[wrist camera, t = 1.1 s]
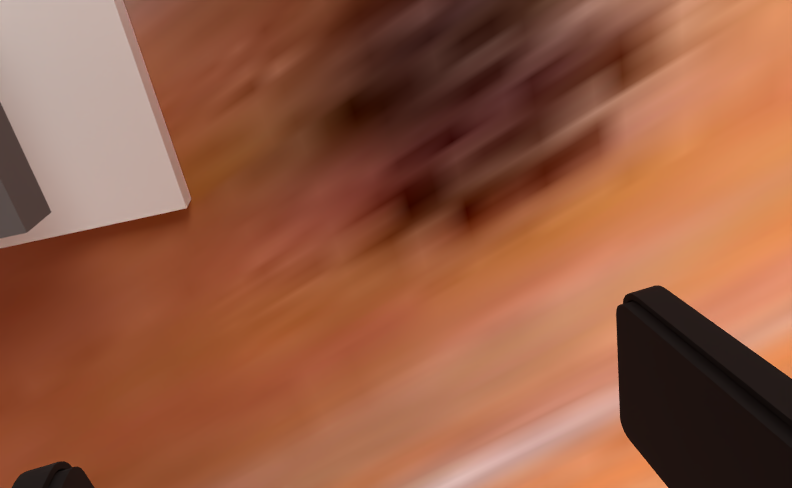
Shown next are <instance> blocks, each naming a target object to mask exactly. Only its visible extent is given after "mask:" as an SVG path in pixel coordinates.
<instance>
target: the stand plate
mask: <svg viewBox="0 0 792 488" xmlns="http://www.w3.org/2000/svg"><path fill="white" fill-rule="evenodd" d="M0 102H1V105H2V107H3V109H4V111H5V113H6V115H7V118H8V120H9V122H10V124H11V126H12V128H13V130H14V133H15V135H16V137H17V139H18V141H19V143H20V145H21V148H22V150H23V152H24V154H25V156H26V158H27V161H28V163H29V165H30V167H31V169H32V171H33V173H34V176H35V178H36V180H37V182H38V184H39V186H40V188H41V191H42V193H43V195H44V197H45V199H46V201H47V204H48V206H49V208H50V210H51V213H50V214H49V215H48V216H46V217H45V218H44V219H43V220H42V221H41V222H39V223H38V224H37V225H36V226H35V227H33V228H32V229H31V230H30V231H29V232H27V233H24V234H19V235H14V236H10V237H5V238H0V248H5V247H10V246H14V245H19V244H23V243H28V242H33V241H37V240H42V239H47V238H51V237H56V236H61V235H65V234H70V233H75V232H79V231H84V230H88V229H93V228H98V227H102V226H107V225H112V224H116V223H121V222H126V221H130V220H135V219H140V218H144V217H149V216H154V215H158V214H163V213H167V212H172V211H177V210H181V209H186V208H187V207H188V205H189V203H190V201H191V196H190V193H189V190H188V187H187V185H186V182H185V179H184V176H183V173H182V170H181V167H180V164H179V161H178V158H177V155H176V152H175V150H174V147H173V144H172V141H171V138H170V135H169V132H168V129H167V126H166V123H165V120H164V118H163V115H162V112H161V109H160V106H159V103H158V100H157V97H156V94H155V91H154V88H153V86H152V83H151V80H150V77H149V74H148V71H147V68H146V65H145V62H144V59H143V56H142V54H141V51H140V48H139V45H138V42H137V39H136V36H135V33H134V30H133V27H132V24H131V22H130V19H129V16H128V13H127V10H126V7H125V4H124V1H123V0H0Z"/></svg>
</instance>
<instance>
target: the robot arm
mask: <svg viewBox="0 0 792 488" xmlns="http://www.w3.org/2000/svg"><path fill="white" fill-rule="evenodd" d="M616 319H617V346H618V373H619V400H620V420H621V424H622V427H623V429H624V432H625V434H626V435H627V437H628V438H629V440H630V441H631V442H632V444H633V445H634V446H635V447H636V448H637V450H638V451H639V452H640V453H641V455H642V456H643V457H644V458H645V459H646V461H647V462H648V463H649V464H650V466H651V467H652V468H653V469H654V471H655V472H656V473H657V474H658V475H659V477H660V478H661V479H662V480H663V482H664V483H665V484H666V485H667V487H668V488H792V379H791V378H790V377H788V376H787V375H786V374H784V373H783V372H781V371H780V370H779V369H777V368H776V367H774V366H773V365H772V364H770V363H769V362H767V361H766V360H765V359H763V358H762V357H760V356H759V355H758V354H756V353H755V352H753V351H752V350H751V349H749V348H748V347H746V346H745V345H744V344H742V343H741V342H739V341H738V340H737V339H735V338H734V337H732V336H731V335H730V334H728V333H727V332H725V331H724V330H723V329H721V328H720V327H718V326H717V325H716V324H714V323H713V322H711V321H710V320H709V319H707V318H706V317H704V316H703V315H702V314H700V313H699V312H697V311H696V310H695V309H693V308H692V307H690V306H689V305H688V304H686V303H685V302H683V301H682V300H681V299H679V298H678V297H677V296H675V295H674V294H672V293H671V292H670V291H668V290H667V289H665V288H664V287H662V286H653V287H649V288H646V289H642V290H639V291H636V292H632V293H629V294H627V295H625V297H624V299H623V304H621V305H619V306H618V307H617V311H616ZM12 488H94V486H93V485H92V483H91V482H90V480H89V479H88V477H87V475H86V474H85V472H84V471H83V470H82V469H81V468H79V467H71V465H70V464H68V463H66V462H57V463H53V464H50V465H47V466H43V467H40V468H37V469H33V470H30V471H26V472H24V473H23V474H21V475H20V476H19V477H18V478H17V480H16V481H15V483H14V485H13V486H12Z"/></svg>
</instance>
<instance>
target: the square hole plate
mask: <svg viewBox="0 0 792 488" xmlns="http://www.w3.org/2000/svg"><path fill="white" fill-rule="evenodd" d="M50 213H51V210H50V208H49V206H48V204H47V201H46V199H45V197H44V195H43V193H42V191H41V188H40V186H39V184H38V182H37V180H36V178H35V176H34V173H33V171H32V169H31V167H30V165H29V163H28V161H27V158H26V156H25V154H24V152H23V150H22V148H21V145H20V143H19V141H18V139H17V137H16V135H15V133H14V130H13V128H12V126H11V124H10V122H9V120H8V118H7V115H6V113H5V111H4V109H3V107H2V105H1V102H0V238H5V237H10V236H14V235H19V234H24V233H27V232H29V231H30V230H31V229H32V228H33V227H35V226H36V225H37V224H38V223H39V222H41V221H42V220H43V219H44V218H45V217H46V216H48V215H49V214H50Z"/></svg>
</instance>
